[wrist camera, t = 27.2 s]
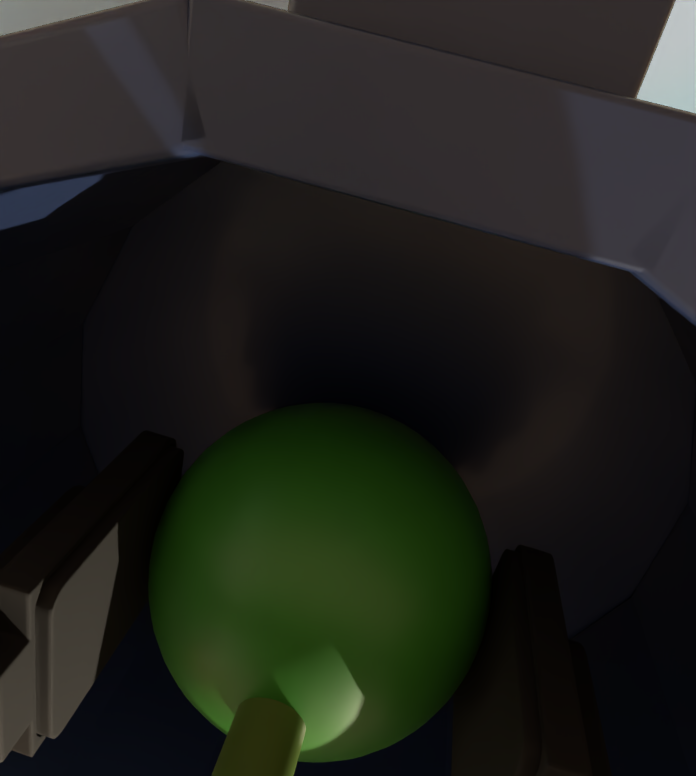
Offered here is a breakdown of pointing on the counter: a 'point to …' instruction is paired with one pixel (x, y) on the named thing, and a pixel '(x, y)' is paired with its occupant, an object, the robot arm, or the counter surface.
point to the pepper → (318, 586)
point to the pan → (366, 304)
